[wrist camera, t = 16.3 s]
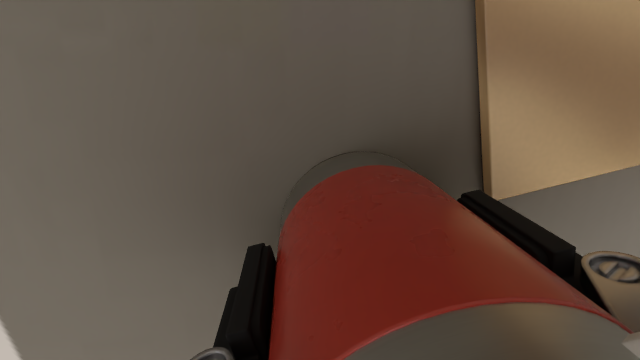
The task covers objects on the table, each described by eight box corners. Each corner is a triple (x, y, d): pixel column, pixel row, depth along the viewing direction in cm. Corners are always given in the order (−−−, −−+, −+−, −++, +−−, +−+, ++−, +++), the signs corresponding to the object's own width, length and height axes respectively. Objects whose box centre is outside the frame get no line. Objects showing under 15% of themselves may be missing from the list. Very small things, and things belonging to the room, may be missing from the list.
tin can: (259, 172, 12) (83, 697, 2) (424, 132, 12) (1133, 421, 2) (301, 305, 14) (325, 871, 4) (440, 271, 14) (803, 741, 4)
